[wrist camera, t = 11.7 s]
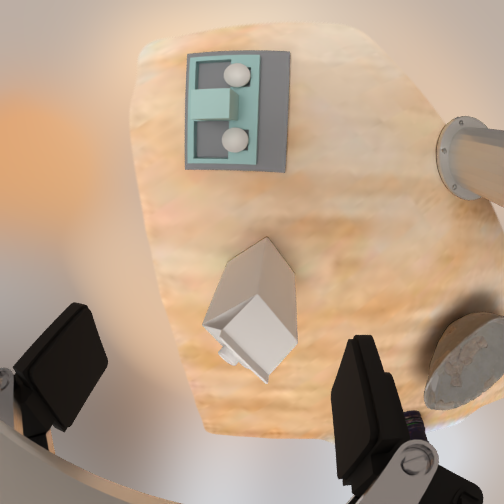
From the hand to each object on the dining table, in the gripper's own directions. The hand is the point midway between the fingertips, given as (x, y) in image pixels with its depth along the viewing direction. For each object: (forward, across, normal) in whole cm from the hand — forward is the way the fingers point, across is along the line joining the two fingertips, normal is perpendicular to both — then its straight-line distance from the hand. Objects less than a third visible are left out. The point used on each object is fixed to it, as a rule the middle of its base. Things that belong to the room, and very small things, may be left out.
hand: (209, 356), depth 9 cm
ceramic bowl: (+31, -40, +25) cm, 56 cm away
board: (+30, +4, -10) cm, 32 cm away
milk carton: (+31, 0, +12) cm, 33 cm away
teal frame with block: (+29, +5, -10) cm, 31 cm away
